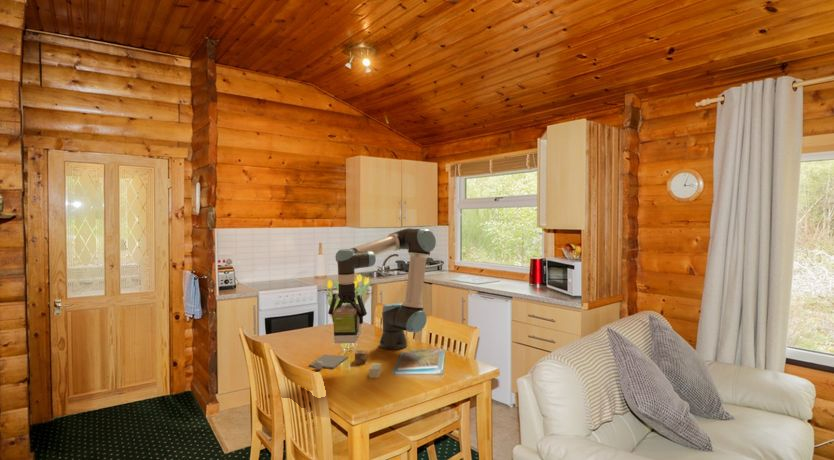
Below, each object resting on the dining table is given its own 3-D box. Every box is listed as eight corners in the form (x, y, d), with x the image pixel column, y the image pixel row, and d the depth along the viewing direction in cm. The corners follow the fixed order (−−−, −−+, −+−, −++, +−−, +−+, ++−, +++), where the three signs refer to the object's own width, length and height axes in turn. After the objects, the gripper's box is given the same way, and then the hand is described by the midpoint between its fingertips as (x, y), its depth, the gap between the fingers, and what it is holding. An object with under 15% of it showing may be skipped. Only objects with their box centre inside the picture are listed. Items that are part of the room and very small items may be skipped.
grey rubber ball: (324, 368, 218) (324, 360, 218) (320, 371, 214) (320, 362, 214) (316, 367, 219) (316, 359, 219) (312, 370, 215) (312, 362, 215)
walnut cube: (366, 360, 229) (366, 350, 229) (365, 363, 224) (365, 353, 224) (356, 360, 229) (356, 350, 229) (355, 363, 224) (354, 353, 224)
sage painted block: (381, 371, 214) (381, 363, 213) (378, 378, 206) (377, 369, 205) (372, 371, 214) (372, 362, 214) (369, 377, 206) (369, 369, 206)
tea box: (340, 334, 222) (339, 303, 221) (361, 333, 221) (360, 303, 220) (333, 343, 207) (332, 311, 206) (355, 343, 206) (354, 310, 205)
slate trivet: (347, 358, 232) (347, 356, 232) (333, 368, 217) (333, 367, 217) (324, 355, 236) (324, 354, 236) (308, 366, 221) (308, 364, 221)
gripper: (373, 282, 213) (374, 329, 214) (327, 280, 219) (328, 326, 221) (367, 285, 206) (368, 333, 207) (319, 283, 212) (321, 330, 213)
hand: (347, 329), depth 214 cm, fingers closed on tea box, 11 cm apart
